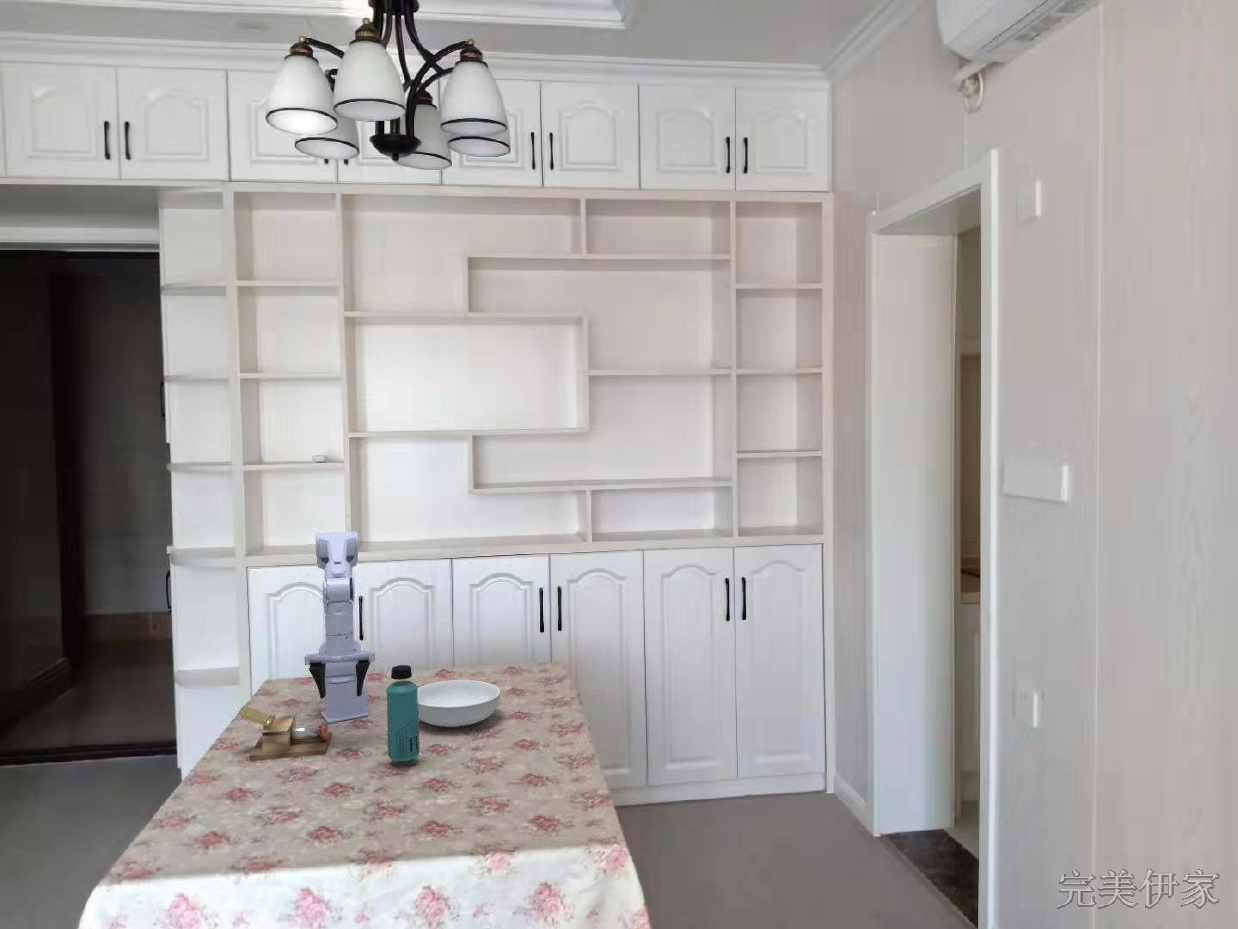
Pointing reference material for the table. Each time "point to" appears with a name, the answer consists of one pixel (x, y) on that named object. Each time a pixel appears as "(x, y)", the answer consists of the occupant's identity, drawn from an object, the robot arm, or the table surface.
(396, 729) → the beverage bottle
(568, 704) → the table surface
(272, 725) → the hitch block
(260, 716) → the brass hinge flap
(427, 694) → the serving bowl
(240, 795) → the table surface
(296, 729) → the pin
